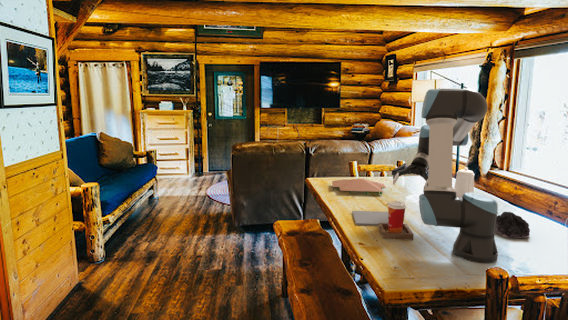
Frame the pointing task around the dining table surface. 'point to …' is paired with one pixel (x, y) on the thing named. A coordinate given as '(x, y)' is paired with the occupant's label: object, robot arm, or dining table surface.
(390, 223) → the paper cup
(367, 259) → the dining table surface
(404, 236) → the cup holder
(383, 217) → the slate tile
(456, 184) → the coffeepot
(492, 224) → the robot arm
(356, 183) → the house
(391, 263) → the dining table surface
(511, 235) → the dark brown lumpy mound
